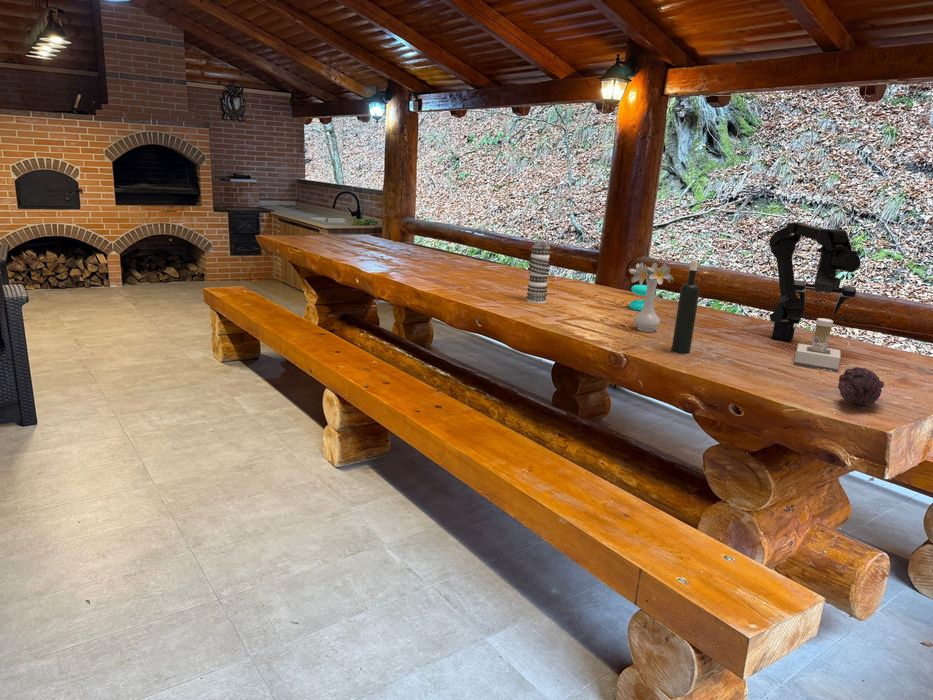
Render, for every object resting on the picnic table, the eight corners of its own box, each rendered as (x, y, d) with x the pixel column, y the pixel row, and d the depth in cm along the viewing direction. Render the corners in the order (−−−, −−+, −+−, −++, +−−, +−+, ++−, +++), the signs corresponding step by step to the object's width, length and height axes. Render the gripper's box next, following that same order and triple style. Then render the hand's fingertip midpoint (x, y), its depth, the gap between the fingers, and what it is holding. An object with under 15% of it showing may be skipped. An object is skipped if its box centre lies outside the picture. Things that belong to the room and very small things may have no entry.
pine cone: (863, 418, 157) (872, 379, 154) (820, 405, 164) (828, 368, 161) (887, 404, 168) (896, 368, 165) (846, 393, 175) (854, 358, 173)
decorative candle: (523, 299, 282) (527, 241, 276) (543, 299, 284) (548, 242, 277) (528, 303, 274) (533, 244, 267) (549, 303, 275) (555, 245, 269)
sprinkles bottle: (805, 359, 204) (814, 318, 200) (812, 358, 207) (821, 317, 203) (820, 363, 200) (829, 321, 197) (827, 361, 203) (836, 320, 200)
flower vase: (637, 322, 248) (646, 258, 242) (675, 334, 233) (685, 265, 227) (612, 325, 241) (620, 258, 235) (649, 337, 226) (659, 266, 220)
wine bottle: (691, 351, 211) (705, 259, 203) (687, 354, 206) (702, 261, 198) (673, 348, 213) (687, 257, 205) (669, 351, 209) (683, 259, 201)
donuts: (635, 283, 279) (658, 286, 275) (632, 305, 282) (655, 309, 277) (628, 286, 271) (652, 289, 266) (626, 309, 274) (649, 312, 269)
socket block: (793, 364, 201) (796, 351, 200) (795, 356, 211) (798, 343, 210) (837, 372, 196) (840, 358, 195) (837, 363, 206) (840, 349, 205)
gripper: (795, 266, 210) (786, 313, 215) (861, 273, 202) (850, 322, 206) (797, 263, 220) (788, 308, 224) (859, 270, 211) (849, 316, 216)
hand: (818, 313), depth 217 cm, fingers open, 9 cm apart
